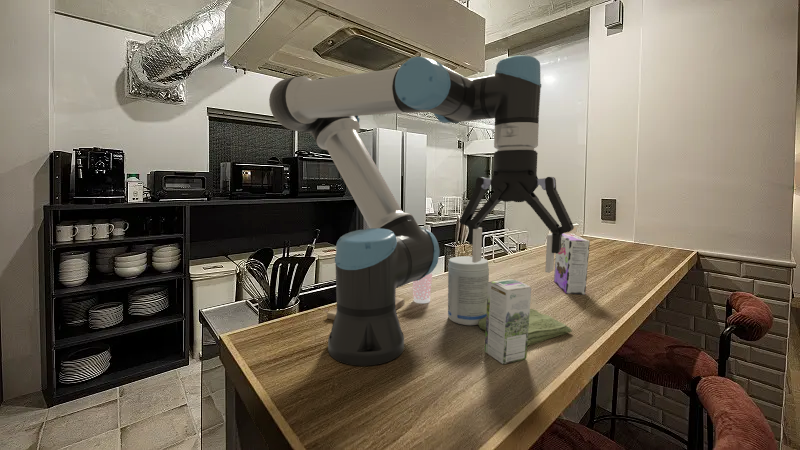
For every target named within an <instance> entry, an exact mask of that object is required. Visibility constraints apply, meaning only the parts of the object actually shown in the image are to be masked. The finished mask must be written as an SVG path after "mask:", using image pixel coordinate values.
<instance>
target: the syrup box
mask: <svg viewBox="0 0 800 450" xmlns="http://www.w3.org/2000/svg"><path fill="white" fill-rule="evenodd" d="M531 296H532V287H531V286H530V285H528V284H526V283H525V282H522V281H519V280H516V279H513V278H508V279H501V280H494V281H489V282H488V292H487V313H486V331H485V335H484V336H485V337H484V352H485V353H486V354H488V356H489V357H492V358H493V359H494V360H497V362H499V363H500V364H502V365H506V364H511V363H514V362H520V361H522V360H526V359H527V357H528V356H527V354H528V345H527V343H528V329H529V315H530V309H531V298H532V297H531Z"/></svg>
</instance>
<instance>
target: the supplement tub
mask: <svg viewBox="0 0 800 450" xmlns="http://www.w3.org/2000/svg"><path fill="white" fill-rule="evenodd" d="M447 266H448V269H447V270H448V272H447V274H448V275H447V290H448V291H447V316H448V318H449V320H450V321H452V322H453V323H455V324H459V325H464V326H479V325H478V323H479V321H480V320H481V319H483V318H485V317H486V313H487V292H488V282H490V280H489V279H490V278H489V277H490V273H489V271H490V268H489V261H488V259H487V258H484V257H481V261H479V262H476V263H474V262H472V255H471V256H469V255H467V256H464V255H463V256H462V255H460V256H455V257H454V256H453V257H451V258H448V265H447Z"/></svg>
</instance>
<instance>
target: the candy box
mask: <svg viewBox="0 0 800 450" xmlns="http://www.w3.org/2000/svg"><path fill="white" fill-rule="evenodd" d="M590 243H591V242H590V240H588V239H586V238H583V237H582V236H579V235H577V234H576V233H569V232H566V233H563V234H562V236H561V250H560V252H559V253H558V254H557V253H555V257H554V274H553V275H554V276H553V281H554V283H555V284H556V285H557V286H558V287H559V288H560V289H561V290H562V291H563V292H564V293H565V294H571V295H583V296H584V295H586V292H587V291H586V290H587V279H588V267H589V265H588V264H589V255H590V246H591V245H590Z"/></svg>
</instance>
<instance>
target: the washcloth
mask: <svg viewBox="0 0 800 450" xmlns="http://www.w3.org/2000/svg"><path fill="white" fill-rule="evenodd" d="M477 326H478V327H479V329H480V330H483V331H485V332H486V317H485V318H483V319H481V320H480V321H479V323H478V325H477ZM572 332H573V330H572V328H571V327H570V326H568V325H566V324H565V323H564V322H562V321H559V320H557V319H555V318H554V317H552V316H551V315H549V314H546V313H545V314H544V313H541V312H540V311H538V310H537V309H534V308H530V315H529V329H528V343H527V346H531V345H535V344H539V343H542V342H543V341H546V340H549V339H550V340H551V339H552V338H556V337H559V336H564V335H567V334H569V333H572Z"/></svg>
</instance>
